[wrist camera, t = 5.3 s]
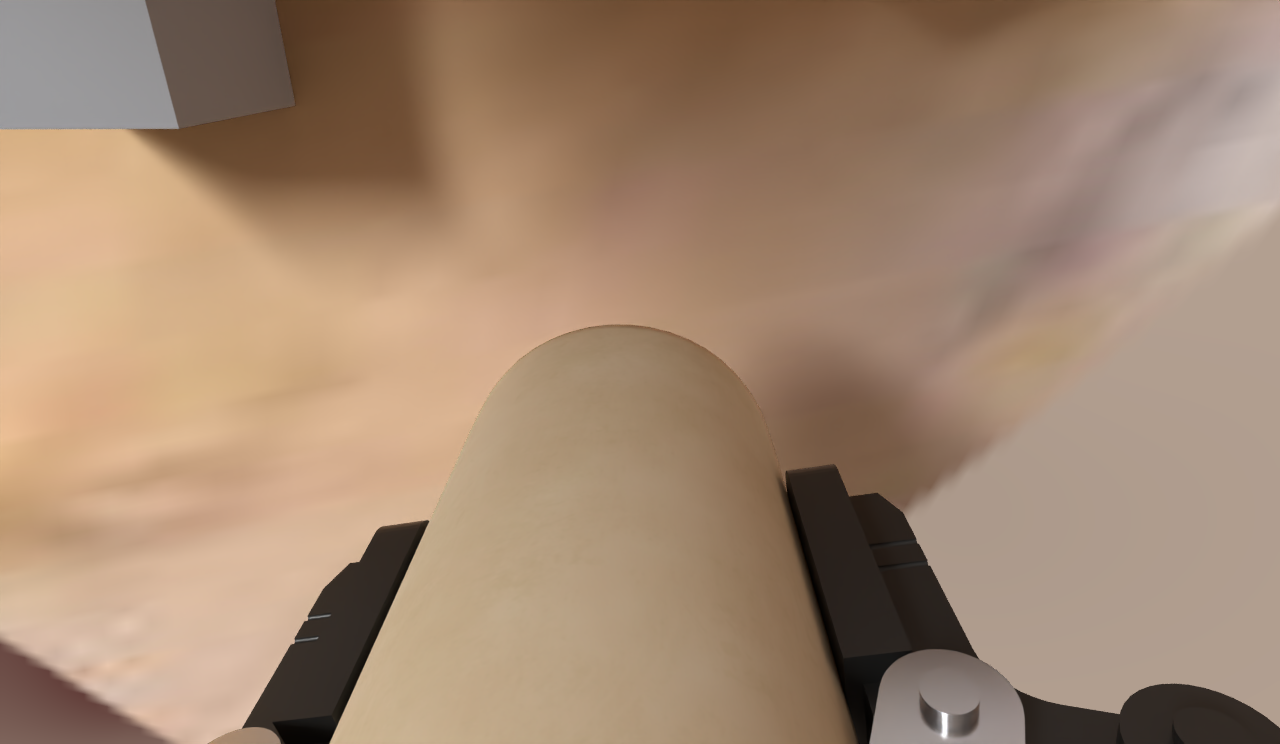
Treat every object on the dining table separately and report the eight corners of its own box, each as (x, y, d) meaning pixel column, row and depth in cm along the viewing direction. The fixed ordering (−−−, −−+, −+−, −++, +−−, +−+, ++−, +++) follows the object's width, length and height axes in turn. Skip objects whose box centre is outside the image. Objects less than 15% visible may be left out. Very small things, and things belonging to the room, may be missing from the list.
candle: (516, 277, 12) (102, 1042, 3) (818, 374, 13) (1225, 1233, 4) (448, 528, 14) (98, 1387, 5) (707, 598, 15) (788, 1462, 6)
